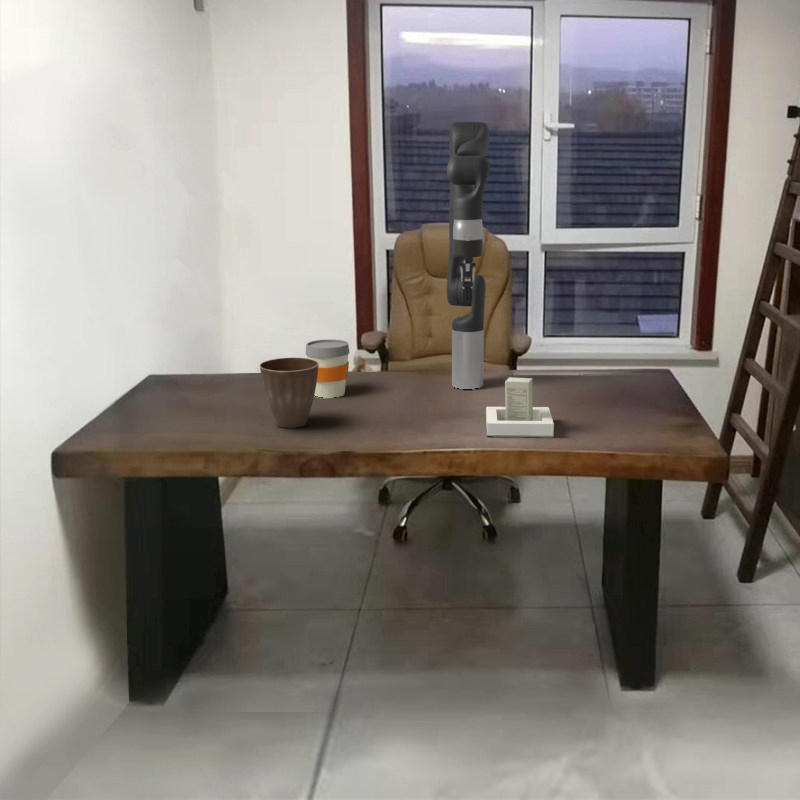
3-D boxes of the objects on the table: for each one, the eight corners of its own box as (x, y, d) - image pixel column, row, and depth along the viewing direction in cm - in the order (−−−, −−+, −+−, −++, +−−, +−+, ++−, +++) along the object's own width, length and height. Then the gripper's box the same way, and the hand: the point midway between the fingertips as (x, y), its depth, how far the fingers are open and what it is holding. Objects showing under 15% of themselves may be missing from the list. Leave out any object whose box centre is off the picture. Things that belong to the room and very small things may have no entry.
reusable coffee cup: (354, 389, 267) (352, 339, 263) (346, 400, 255) (344, 348, 251) (312, 388, 269) (310, 338, 265) (302, 399, 257) (300, 347, 253)
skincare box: (533, 425, 228) (534, 378, 224) (529, 430, 224) (530, 382, 220) (508, 423, 230) (508, 376, 227) (504, 427, 226) (504, 380, 223)
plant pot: (332, 420, 236) (330, 360, 232) (299, 435, 224) (296, 373, 219) (285, 413, 243) (282, 355, 239) (251, 428, 231) (247, 367, 226)
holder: (486, 419, 235) (486, 406, 234) (548, 420, 233) (548, 407, 233) (487, 437, 220) (487, 423, 219) (553, 437, 219) (553, 423, 218)
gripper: (453, 234, 236) (453, 296, 241) (452, 240, 223) (452, 305, 227) (482, 234, 236) (481, 296, 240) (483, 239, 222) (482, 305, 226)
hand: (467, 300), depth 233 cm, fingers open, 8 cm apart
